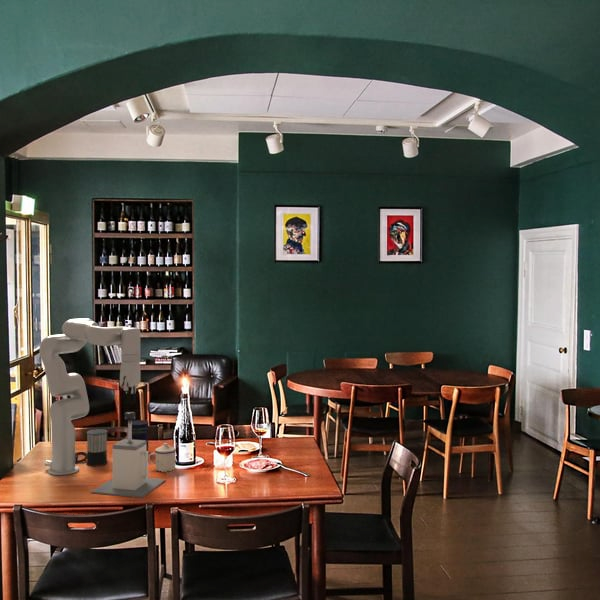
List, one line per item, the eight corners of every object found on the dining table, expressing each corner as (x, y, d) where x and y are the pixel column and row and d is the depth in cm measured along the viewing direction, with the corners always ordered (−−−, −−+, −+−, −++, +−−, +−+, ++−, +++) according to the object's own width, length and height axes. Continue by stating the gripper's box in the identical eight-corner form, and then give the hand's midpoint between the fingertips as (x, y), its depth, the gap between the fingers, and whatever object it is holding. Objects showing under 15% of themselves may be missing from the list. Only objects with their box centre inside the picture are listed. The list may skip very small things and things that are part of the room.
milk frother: (108, 465, 297) (108, 433, 297) (71, 468, 292) (71, 435, 291) (105, 457, 311) (105, 426, 310) (70, 459, 305) (70, 428, 304)
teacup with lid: (177, 466, 298) (177, 441, 297) (173, 472, 288) (173, 446, 288) (151, 465, 298) (151, 440, 297) (146, 471, 289) (146, 445, 288)
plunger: (122, 458, 266) (123, 413, 265) (127, 456, 270) (127, 411, 269) (132, 459, 265) (132, 414, 265) (136, 456, 269) (136, 412, 269)
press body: (112, 488, 264) (112, 444, 264) (123, 480, 274) (124, 438, 273) (141, 490, 262) (142, 447, 261) (152, 483, 272) (152, 440, 271)
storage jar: (141, 456, 313) (141, 425, 312) (123, 454, 316) (123, 423, 315) (152, 451, 322) (152, 421, 322) (134, 449, 325) (135, 419, 325)
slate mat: (91, 493, 260) (91, 491, 260) (117, 476, 281) (117, 475, 281) (142, 497, 255) (142, 496, 255) (165, 480, 277) (165, 479, 277)
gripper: (130, 355, 274) (130, 399, 275) (113, 360, 260) (113, 406, 260) (147, 356, 273) (147, 400, 273) (131, 360, 258) (131, 407, 259)
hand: (131, 403), depth 267 cm, fingers closed
